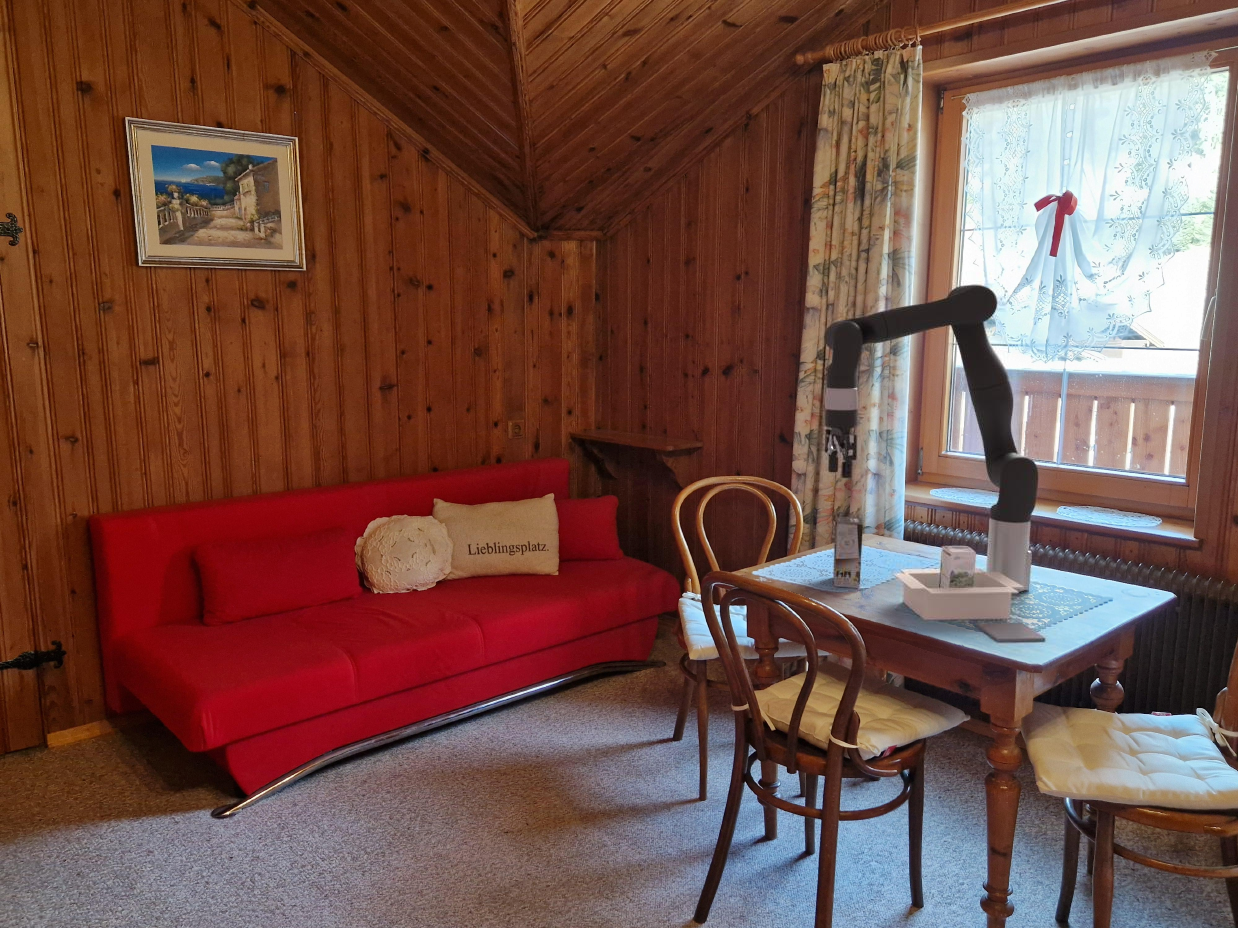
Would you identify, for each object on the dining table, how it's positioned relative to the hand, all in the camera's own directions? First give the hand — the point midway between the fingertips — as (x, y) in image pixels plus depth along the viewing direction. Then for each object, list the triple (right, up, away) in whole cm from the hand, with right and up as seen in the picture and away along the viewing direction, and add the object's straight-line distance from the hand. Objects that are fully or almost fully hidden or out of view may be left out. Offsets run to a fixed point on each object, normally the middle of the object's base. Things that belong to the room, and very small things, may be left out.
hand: (839, 474), depth 218 cm
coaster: (+30, -33, -25) cm, 51 cm away
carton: (+24, -31, -10) cm, 40 cm away
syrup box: (+24, -31, -10) cm, 40 cm away
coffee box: (+5, -27, +12) cm, 30 cm away
